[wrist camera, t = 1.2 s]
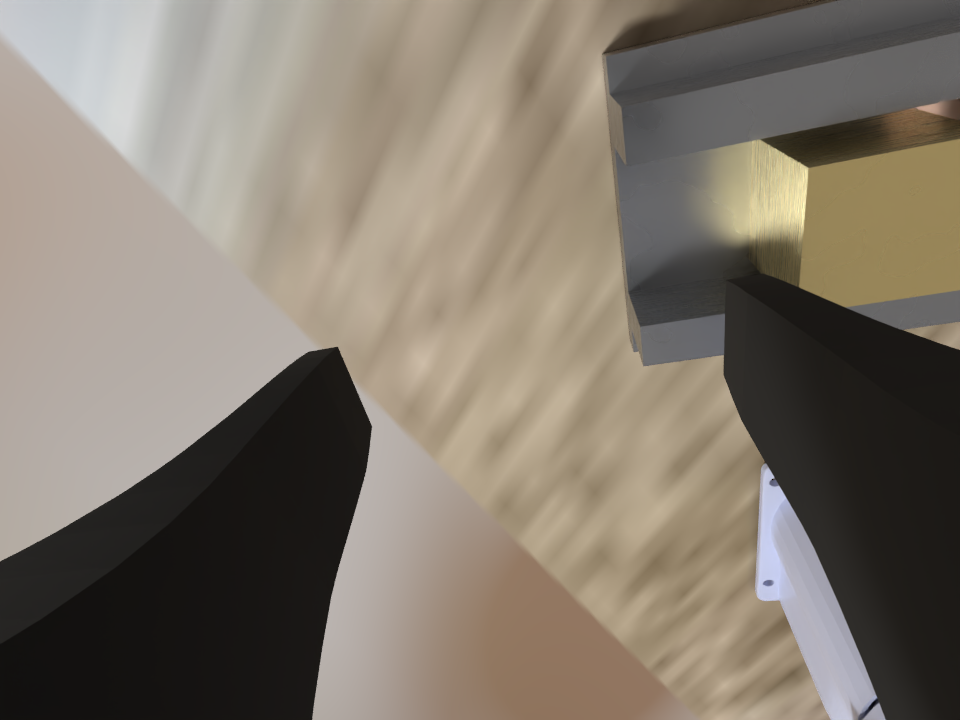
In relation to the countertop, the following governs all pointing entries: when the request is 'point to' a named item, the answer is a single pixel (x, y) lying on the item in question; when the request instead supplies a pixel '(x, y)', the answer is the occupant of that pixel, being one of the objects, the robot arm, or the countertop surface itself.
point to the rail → (728, 145)
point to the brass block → (860, 208)
